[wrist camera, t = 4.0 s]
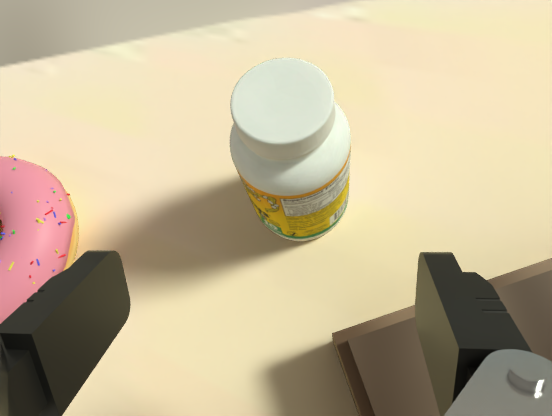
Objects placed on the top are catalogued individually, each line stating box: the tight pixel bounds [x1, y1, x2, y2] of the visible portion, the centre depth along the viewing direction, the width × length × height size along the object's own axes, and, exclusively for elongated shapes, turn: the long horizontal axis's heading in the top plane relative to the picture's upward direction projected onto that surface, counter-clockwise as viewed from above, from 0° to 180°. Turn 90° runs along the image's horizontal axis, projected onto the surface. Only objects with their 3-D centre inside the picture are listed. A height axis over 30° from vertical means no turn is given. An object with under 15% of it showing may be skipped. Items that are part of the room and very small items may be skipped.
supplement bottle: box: [230, 58, 351, 241], centre depth 21 cm, size 5×5×10 cm
